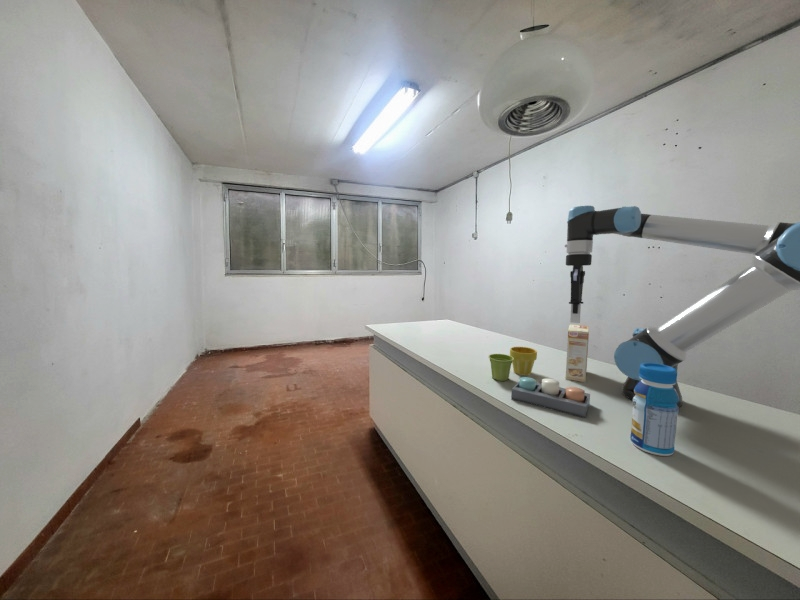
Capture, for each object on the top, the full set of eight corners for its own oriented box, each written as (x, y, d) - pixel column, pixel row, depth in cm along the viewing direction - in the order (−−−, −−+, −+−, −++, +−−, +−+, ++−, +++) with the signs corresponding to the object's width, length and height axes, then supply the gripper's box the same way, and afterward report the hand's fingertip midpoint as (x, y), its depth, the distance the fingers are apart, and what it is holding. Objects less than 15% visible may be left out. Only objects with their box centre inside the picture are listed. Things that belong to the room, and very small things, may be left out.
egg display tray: (589, 404, 95) (590, 393, 95) (585, 418, 86) (585, 406, 86) (521, 388, 108) (521, 379, 108) (511, 399, 99) (511, 388, 99)
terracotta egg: (584, 403, 93) (585, 389, 93) (582, 408, 89) (583, 394, 89) (566, 398, 96) (567, 385, 96) (563, 404, 92) (564, 390, 92)
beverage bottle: (662, 461, 67) (670, 375, 65) (621, 441, 75) (627, 364, 73) (682, 452, 70) (690, 369, 68) (641, 434, 78) (647, 359, 76)
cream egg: (560, 393, 97) (560, 380, 97) (556, 399, 93) (557, 385, 93) (543, 389, 100) (543, 377, 100) (539, 394, 97) (540, 381, 96)
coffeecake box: (586, 382, 113) (589, 332, 111) (564, 379, 117) (567, 330, 115) (586, 371, 126) (589, 325, 124) (566, 368, 129) (569, 323, 127)
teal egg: (536, 391, 102) (537, 379, 101) (533, 396, 98) (533, 383, 97) (521, 388, 105) (522, 376, 104) (517, 393, 101) (517, 380, 100)
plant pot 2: (540, 377, 119) (541, 353, 118) (514, 377, 119) (515, 353, 118) (529, 368, 130) (530, 346, 128) (505, 368, 130) (506, 346, 129)
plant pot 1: (509, 374, 122) (510, 353, 121) (516, 383, 113) (516, 361, 112) (486, 373, 123) (486, 353, 122) (490, 382, 114) (491, 360, 113)
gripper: (569, 254, 109) (566, 318, 111) (562, 253, 98) (559, 324, 101) (593, 254, 104) (589, 320, 107) (589, 252, 94) (585, 326, 96)
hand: (575, 322), depth 104 cm, fingers closed
